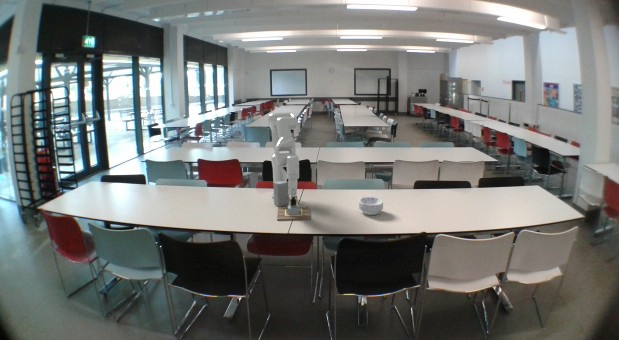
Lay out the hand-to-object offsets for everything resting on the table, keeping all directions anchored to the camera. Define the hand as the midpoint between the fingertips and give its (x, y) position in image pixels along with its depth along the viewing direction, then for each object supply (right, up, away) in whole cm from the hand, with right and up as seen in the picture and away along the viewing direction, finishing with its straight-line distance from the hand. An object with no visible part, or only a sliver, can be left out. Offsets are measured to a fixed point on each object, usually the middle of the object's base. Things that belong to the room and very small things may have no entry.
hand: (293, 203), depth 218 cm
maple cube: (0, -1, 0) cm, 1 cm away
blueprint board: (0, -7, +2) cm, 7 cm away
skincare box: (-9, -3, +19) cm, 21 cm away
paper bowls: (+49, -6, +3) cm, 49 cm away
